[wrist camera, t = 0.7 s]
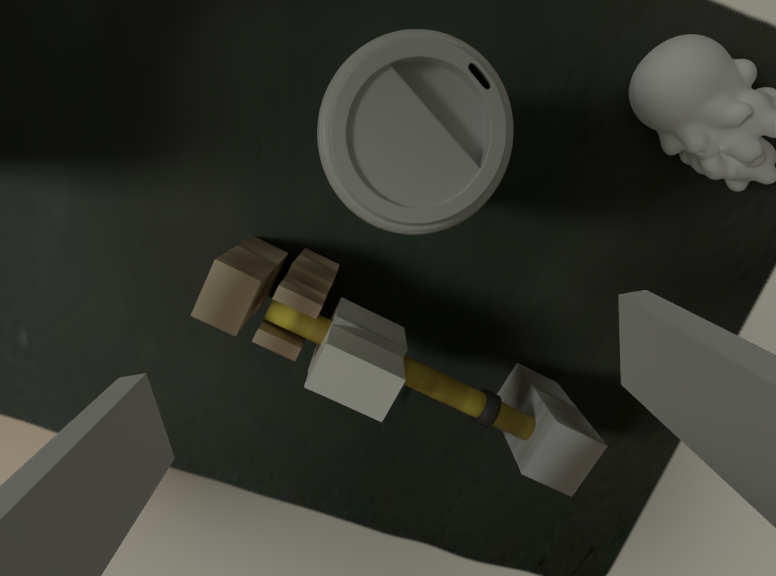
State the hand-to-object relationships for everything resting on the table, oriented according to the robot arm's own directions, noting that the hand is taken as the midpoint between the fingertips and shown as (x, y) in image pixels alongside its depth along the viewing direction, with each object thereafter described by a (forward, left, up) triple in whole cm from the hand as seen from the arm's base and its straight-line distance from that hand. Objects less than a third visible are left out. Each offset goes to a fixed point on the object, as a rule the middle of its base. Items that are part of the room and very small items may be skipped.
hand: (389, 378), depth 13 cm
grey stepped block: (+1, -7, -20) cm, 21 cm away
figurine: (+16, +18, -26) cm, 35 cm away
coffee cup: (-2, +7, -25) cm, 26 cm away
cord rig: (+5, -7, -25) cm, 27 cm away
